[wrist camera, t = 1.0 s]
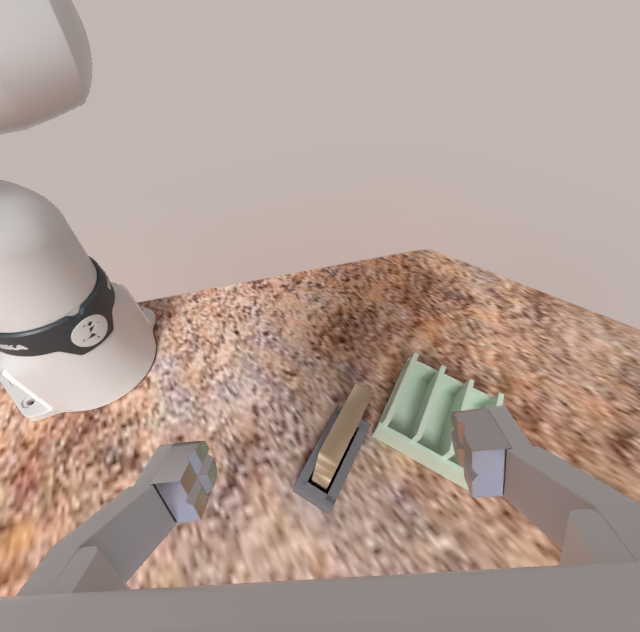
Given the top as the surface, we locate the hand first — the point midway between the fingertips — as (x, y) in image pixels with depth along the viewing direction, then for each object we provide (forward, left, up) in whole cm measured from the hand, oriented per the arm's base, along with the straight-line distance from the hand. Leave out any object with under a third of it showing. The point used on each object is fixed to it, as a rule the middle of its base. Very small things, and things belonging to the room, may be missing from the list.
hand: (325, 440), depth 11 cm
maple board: (0, +8, -30) cm, 31 cm away
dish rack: (+9, +18, -30) cm, 36 cm away
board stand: (0, +8, -30) cm, 31 cm away
